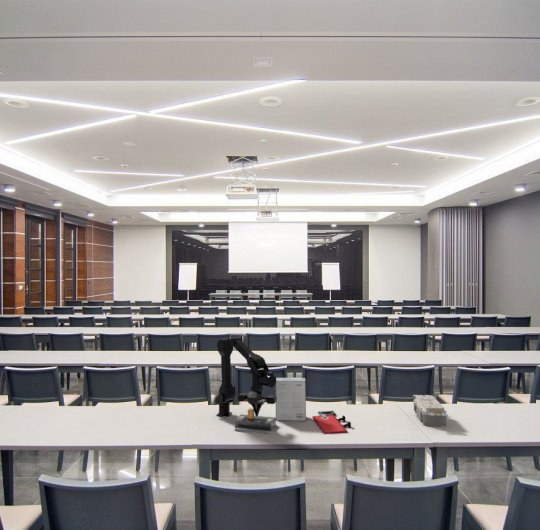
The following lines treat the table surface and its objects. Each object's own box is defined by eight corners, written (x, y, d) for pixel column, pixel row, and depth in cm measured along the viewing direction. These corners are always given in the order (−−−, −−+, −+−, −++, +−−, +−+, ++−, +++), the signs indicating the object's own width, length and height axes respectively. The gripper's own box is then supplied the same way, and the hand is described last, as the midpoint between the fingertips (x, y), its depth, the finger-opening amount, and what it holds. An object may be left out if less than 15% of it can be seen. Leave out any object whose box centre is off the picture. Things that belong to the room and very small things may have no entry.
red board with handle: (336, 412, 225) (309, 414, 223) (336, 407, 225) (309, 408, 223) (355, 433, 195) (324, 435, 193) (355, 427, 195) (323, 429, 193)
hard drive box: (306, 416, 218) (306, 377, 218) (306, 421, 210) (305, 381, 211) (276, 415, 219) (276, 377, 220) (275, 420, 211) (275, 380, 212)
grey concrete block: (431, 410, 226) (431, 392, 226) (451, 433, 198) (451, 412, 197) (409, 409, 227) (409, 391, 226) (426, 432, 198) (426, 411, 198)
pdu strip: (241, 421, 210) (241, 414, 210) (275, 424, 205) (275, 417, 205) (234, 427, 201) (234, 419, 201) (270, 431, 196) (270, 423, 196)
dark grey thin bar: (235, 428, 199) (235, 426, 199) (269, 432, 195) (269, 430, 195) (233, 430, 197) (233, 428, 197) (267, 434, 192) (267, 432, 192)
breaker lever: (249, 416, 205) (249, 408, 205) (254, 416, 205) (254, 408, 205) (247, 418, 202) (247, 410, 203) (252, 418, 202) (252, 410, 202)
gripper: (233, 386, 198) (233, 419, 198) (271, 389, 193) (271, 423, 193) (241, 380, 209) (240, 412, 208) (277, 383, 204) (277, 415, 203)
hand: (256, 416), depth 203 cm, fingers closed
